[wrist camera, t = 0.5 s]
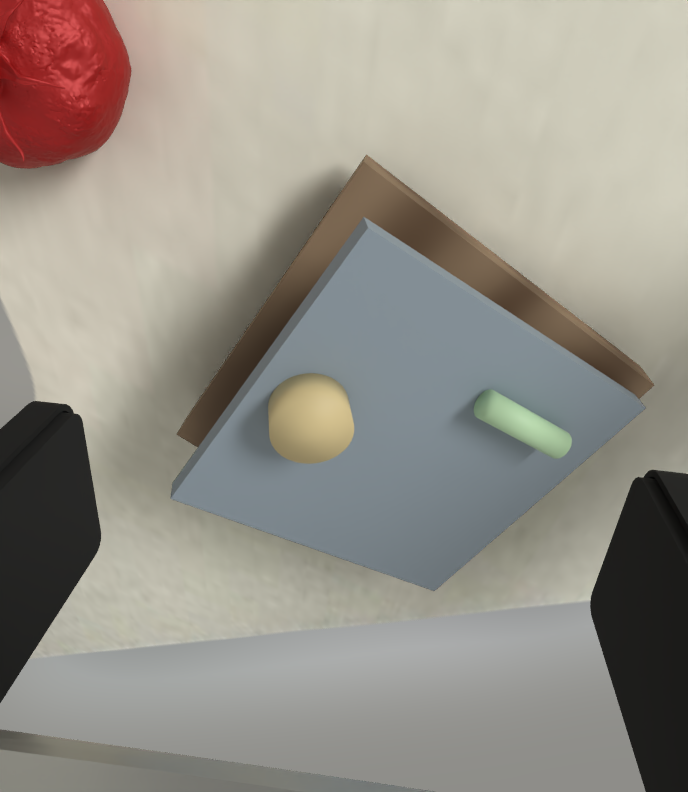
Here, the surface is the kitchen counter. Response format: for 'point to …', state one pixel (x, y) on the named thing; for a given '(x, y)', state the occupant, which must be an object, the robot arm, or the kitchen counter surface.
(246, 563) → the kitchen counter surface
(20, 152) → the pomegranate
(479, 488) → the plate
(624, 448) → the kitchen counter surface
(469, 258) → the wooden board
